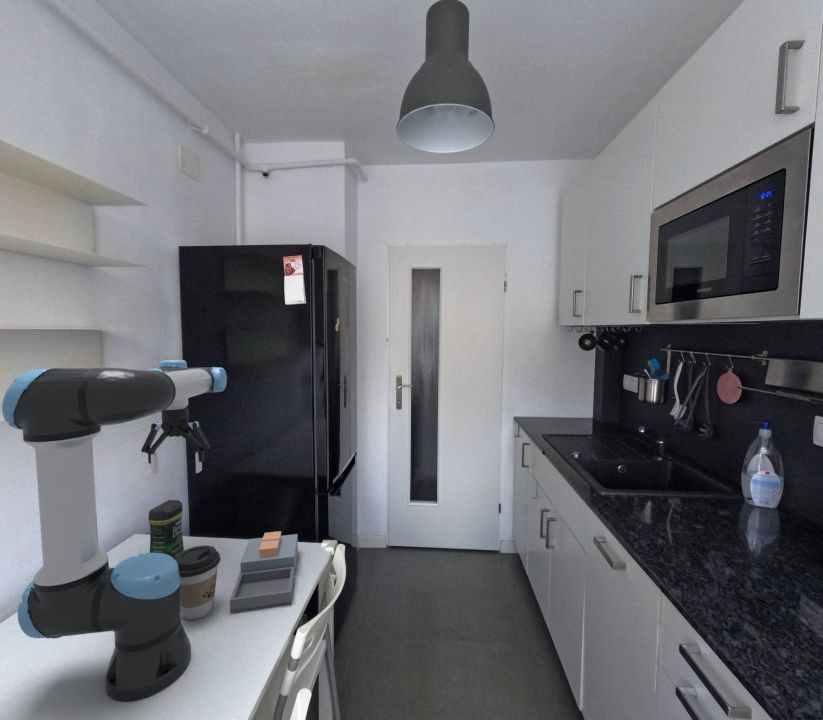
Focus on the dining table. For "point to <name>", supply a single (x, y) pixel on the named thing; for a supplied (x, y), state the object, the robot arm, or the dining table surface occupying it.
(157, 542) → the coffee jar
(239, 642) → the dining table surface
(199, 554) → the coffee cup
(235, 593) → the box
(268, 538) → the tile rear
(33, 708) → the dining table surface
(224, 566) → the dining table surface
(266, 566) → the blue-grey square block
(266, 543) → the tile front
